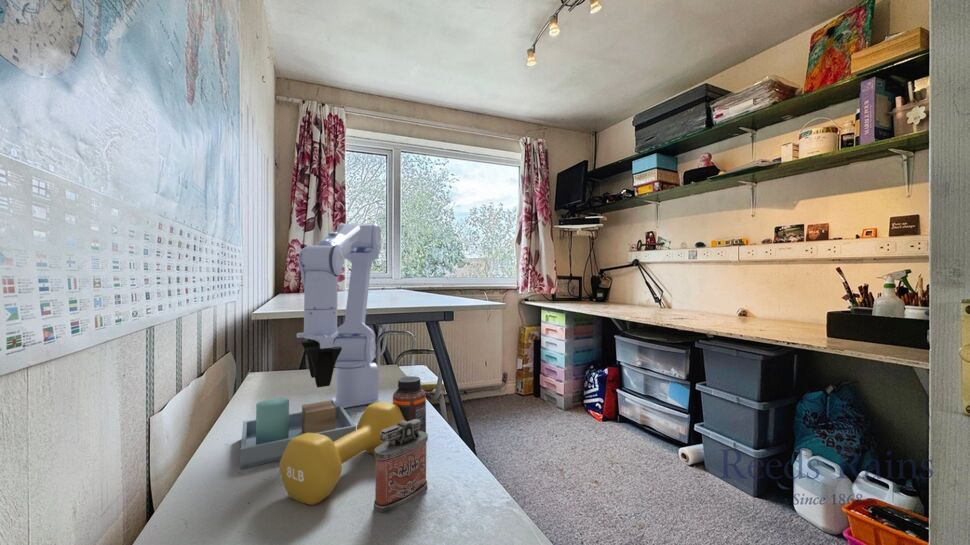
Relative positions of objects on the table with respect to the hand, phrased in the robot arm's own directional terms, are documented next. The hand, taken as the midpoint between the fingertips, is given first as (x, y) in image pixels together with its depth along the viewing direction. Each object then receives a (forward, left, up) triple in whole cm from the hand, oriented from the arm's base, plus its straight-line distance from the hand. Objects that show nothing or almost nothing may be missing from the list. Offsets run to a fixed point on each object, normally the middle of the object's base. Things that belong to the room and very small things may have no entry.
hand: (320, 381), depth 69 cm
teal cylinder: (+8, 0, -10) cm, 12 cm away
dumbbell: (-2, +16, -11) cm, 19 cm away
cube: (0, 0, -10) cm, 10 cm away
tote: (+3, 0, -10) cm, 11 cm away
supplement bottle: (-14, +11, -10) cm, 20 cm away
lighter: (-7, +27, -10) cm, 30 cm away
